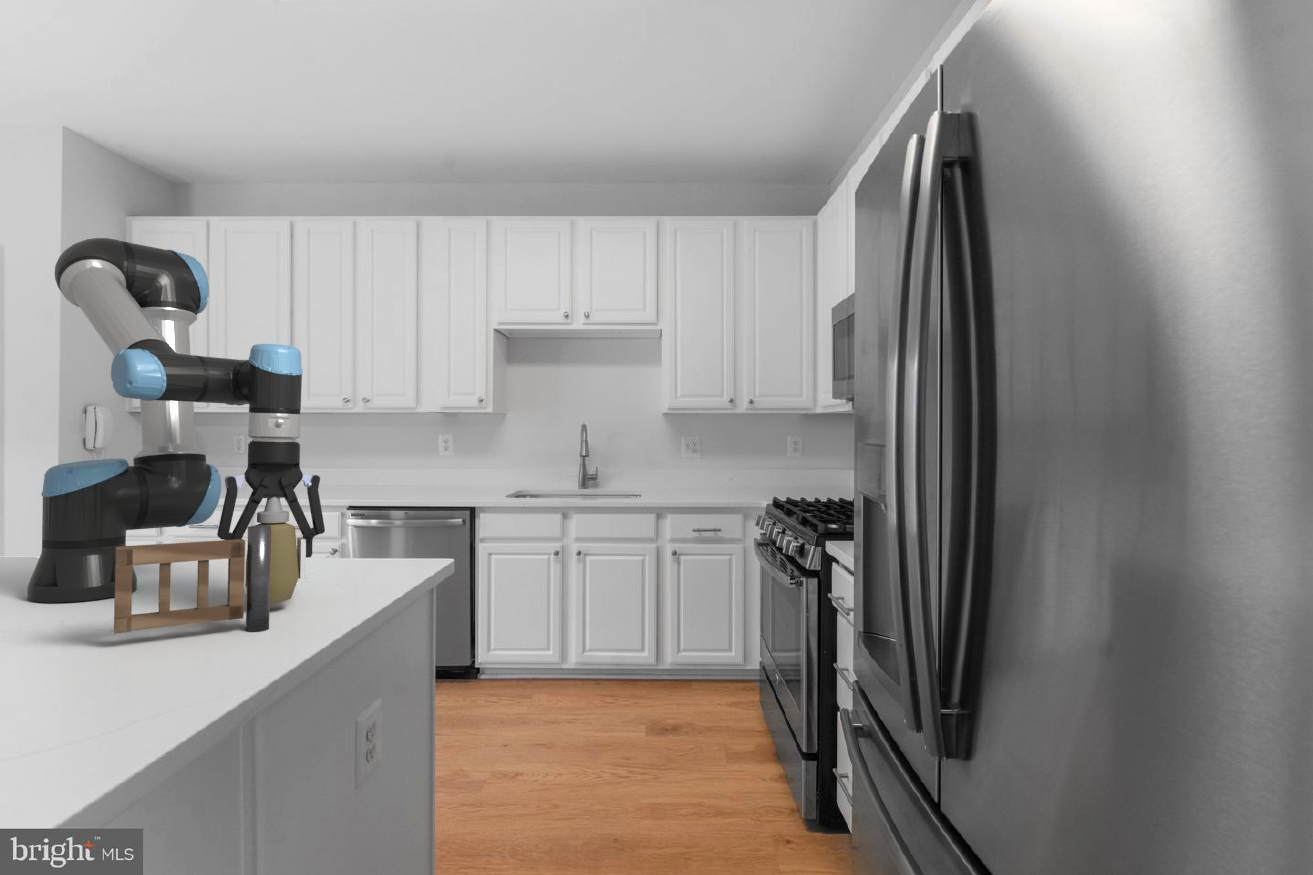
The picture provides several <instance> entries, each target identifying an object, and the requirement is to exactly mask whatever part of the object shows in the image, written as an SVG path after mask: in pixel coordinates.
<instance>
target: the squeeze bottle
mask: <svg viewBox="0 0 1313 875" xmlns="http://www.w3.org/2000/svg"><path fill="white" fill-rule="evenodd" d="M289 521H290V512H289V511H288V510H283V507H282V504H281V498H279V497H271V498H266V502H265V506H264V510H263V511H258V512H257V513H256V523H258V524H255V525H254V526H261V525H265V526H271V561H270V604H275V603H276V604H277V603H283V602H285V601H289V600H291V599H292V596H293V594H294V592H295V589H296V587H297V583H298V581H299V567H298V556H297V537H296V536H297V535H296V527H295V526H294V525H293V524H290V523H288V522H289ZM247 551H248V549H246V552H247ZM244 587H245V588H246V590H247V557H246V583H245V584H244Z"/></svg>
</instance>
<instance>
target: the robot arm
mask: <svg viewBox="0 0 1313 875" xmlns="http://www.w3.org/2000/svg"><path fill="white" fill-rule="evenodd" d="M54 280H55V282H56V285H57V288H58V289H59V291H60V293H61V294H62V295H63V297H64V298H65V299H66V300H67V302H69V303H70V304H72V305H73V306H75V307H78V308H80V309H81V312H83V314H84V315H85V317H86V318H87V319H88V322H90V324H91V325H92V326H93V327H92V328H94V330H95V331H96V332H97V334H98V335H99V337H100V339H101V340H102V341H103V342H104V344H105V345H106V347H107V348H108V350H109V352H110V353H111V354H112V355H113V359H112V363H111V368H110V379H111V382H112V388H113V390H114V391H115V393H116V394H118V396H120V397H122V398H127V399H134V400H135V399H137V400H139V403H140V404H139V405H140V406H139V407H140V423H141V440H142V441H141V442H142V448H141V450H140V451H138V452H137V453H136V454H135V455H134V456H133V465H130V464H129V463H128V460H127V459H126V458H121V457H120V458H104V459H90V460H82V461H81V460H80V461H74V462H68V463H67V462H65V463H60V464H57V465H53V466H51V467H49V468H48V469H47V470H46V471H45V473H44V478H43V485H42V491H41V493H40V495H41V497H42V520H41V521H42V523H41V524H42V526H41V528H42V529H41V553H40V555H39V558H38V561H37V563H36V565H35V568H34V570H33V572H32V574H31V577H30V579H29V582H28V585H27V589H26V590H27V593H26V594H27V595H26V596H27V600H28V601H31V602H34V603H35V602H36V603H74V602H76V603H77V602H87V601H95V600H103V599H110V598H115V554H116V547H120V546H127V545H126V544H127V543H126V542H127V540H126V539H127V531H130V530H131V531H133V530H135V531H136V530H146V529H159V528H160V529H161V528H171V527H172V528H173V527H175V528H182V527H186V526H193V525H200V524H202V523H204V522H207V520H209V519H210V518H211V517H212V516H213V514H214V513H215V511H216V509H217V507H218V505H219V502H220V498H221V492H222V479H221V478H222V477H221V474H220V473H219V469H218V468H217V467H216V466H215V465H212V464H211V463H207V455H206V453H205V452H204V451H202V450H201V449H200V448H199V447H198V446H197V438H196V425H195V424H196V422H195V405H194V403H209V404H224V405H228V406H244V405H248V430H247V431H248V432H247V434H248V438H251V439H252V440H251V441H249V443H248V444H247V467H246V468H247V469H246V470H245V472H244V474H239V475H234V476H233V475H227V476H225V478H224V482H225V488H226V491H225V492H226V493H225V498H224V502H223V505H222V509H221V510H222V511H221V514H220V519H219V524H218V529H217V533H216V535H217V537H218V538H219V539H220V540H237V539H243V537H244V535H245V533H246V531H247V530H248V527H249V525H250V523H251V521H252V519H253V517H254V515H255V514H256V511H257V509H258V507H259V505H260V504H261V503H262V501H263V499H267V498H271V497H279V498H280V499H281V498H282V499H283V498H284V500H285V501H286V503H287V505H288V507H289V509H290V511H291V513H292V516H293V518H294V520H295V522H296V524H297V526H298V529H299V531H300V533H301V536H302V537H296V545H297V556H298V567H299V578H298V580H305V579H306V562H307V561H306V558H312V556H313V540H314V538H315V537H316V536H318V535H323V534H324V533H325V532H326V528H325V523H324V517H323V510H322V504H321V498H320V494H319V487H320V482H321V477H320V475H317V474H307V473H303V472H302V470H301V464H300V463H301V444H300V442H299V441H297V439H300V438H301V408H302V384H303V383H302V380H303V371H304V370H303V368H302V353H301V351H300V349H299V348H297V347H295V346H292V345H285V344H275V343H255V344H253V345H252V347H251V348H250V352H249V356H248V359H234V358H224V357H214V356H213V357H212V356H203V355H194V354H193V355H192V354H191V342H190V340H191V338H190V326H192V324H194V323H195V322H196V321H197V320H198V315H199V314H201V313H202V312H203V311H205V309H206V307H207V305H208V298H209V296H210V285H209V280H208V276H207V273H206V271H205V269H204V267H203V265H202V264H201V262H199V261H198V260H197V259H196V258H195V257H193V256H191V255H189V254H186V253H181V252H178V251H176V250H172V249H163V248H158V247H153V246H149V245H143V244H138V243H133V242H128V241H124V240H119V239H114V238H110V237H109V238H108V237H95V238H88V239H84V240H82V241H79V242H76V243H74V244H72V245H71V246H69V247H67V248H66V249H65V250H63V252H62V253H61V254H60V255H59V257H58V259H57V261H56V262H55V266H54ZM301 481H302V482H303V485H304V487H306V492H307V496H308V497H307V498H308V504H309V510H310V517H311V521H312V527H311V526H310V524H309V522H308V519H307V517H306V514H305V513H304V511H303V508H302V506H301V504H300V502H299V498H298V497H297V494H296V492H295V488H296V487H297V486H299V483H300V482H301ZM244 482H246V483H247V484H248V486H249V487H250V488H251V489H252V492H251V494H250V495H249V498H248V501H247V503H246V505H244V506H245V507H244V509H243V510H242V513H241V514H240V516H239V518H238V521H237V522H236V524H235V526H234V528H233V530H232V532H230V530H231V525H232V521H233V516H234V512H235V506H236V502H237V498H238V493H239V492H238V491H239V489H241V488H242V487H243V483H244ZM246 558H247V542H246V541H245V569H244V585H245V583H246ZM137 586H138V578H137V574H136V571H135V569H134V566H133V567H132V593H133V592H136V590H137V588H138V587H137Z"/></svg>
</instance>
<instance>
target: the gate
mask: <svg viewBox="0 0 1313 875" xmlns="http://www.w3.org/2000/svg"><path fill="white" fill-rule="evenodd" d="M245 542H246V540H245V539H243V538H242V539H237V540H222V539H220V540H206V541H205V540H204V541H193V542H192V541H189V542H175V543H174V542H173V543H172V542H171V543H158V544H157V543H156V544H155V543H154V544H153V543H152V544H142V545H141V544H139V545H126V546H120V547H116V554H115V597H114V602H113V603H114V611H113V612H114V613H113V614H114V615H113V617H114V618H113V633H114V634H116V635H117V634H124V633H131V632H133V631H142V630H151V629H152V630H153V629H159V628H168V627H169V628H170V627H176V626H185V625H194V624H195V625H196V624H203V623H204V624H205V623H212V622H219V621H233V620H243V619H244V618H245V617H244V615H245V614H244V612H245V609H244V608H245V606H244V605H245V584H244V569H245ZM226 559H227V560H228V562H227V566H228V567H227V602H226V603H227V604H220V605H209V581H210V580H209V576H210V575H209V574H210V561H212V560H226ZM185 562H197V582H196V583H197V588H196V589H197V590H196V592H197V595H196V607H193V608H192V607H191V608H183V609H182V608H181V609H174V610H173V609H171V574H172V573H171V570H172V569H171V568H172V563H185ZM155 564H156V565H157V564H158V565H159V567H158V568H159V573H158V574H159V575H158V576H159V577H158V578H159V579H158V611H154V612H145V613H136V614H135V613H134V614H132V607H133V606H132V604H133V601H132V600H133V592H132V567H133V568H134V566H143V565H146V566H147V565H155Z"/></svg>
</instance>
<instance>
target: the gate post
mask: <svg viewBox="0 0 1313 875" xmlns="http://www.w3.org/2000/svg"><path fill="white" fill-rule="evenodd" d="M247 550H248V551H247ZM247 550H246V558H247V589H246V601H245V602H246V603H245V604H246V605H245V606H246V607H245V608H246V611H245V614H246V615H245V631H246V632H249V633H256V632H264V631H268V630H269V629H270V604H271V603H270V561H271V526H265V525H261V526H255V525H250V526H249V525H248V527H247Z"/></svg>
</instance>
